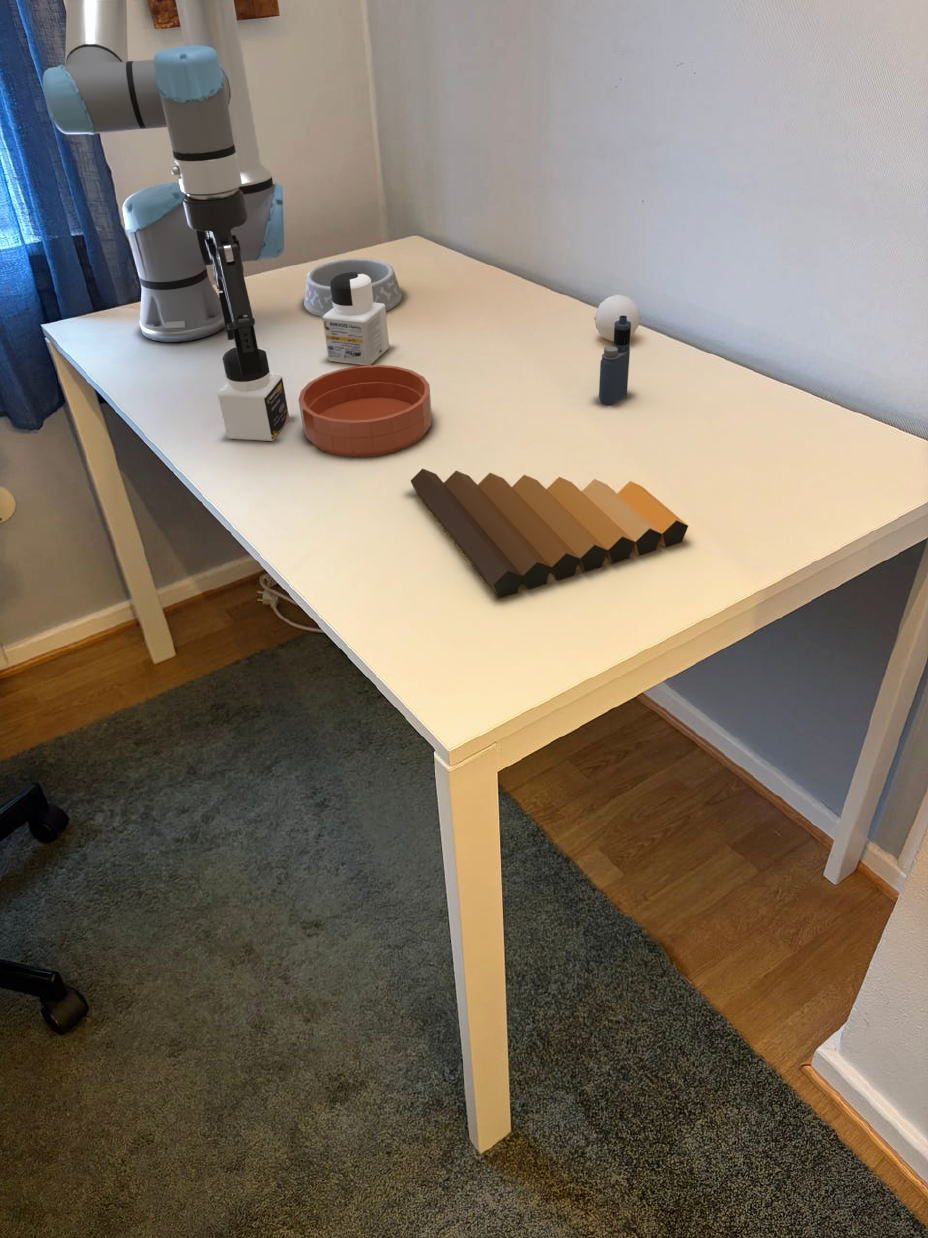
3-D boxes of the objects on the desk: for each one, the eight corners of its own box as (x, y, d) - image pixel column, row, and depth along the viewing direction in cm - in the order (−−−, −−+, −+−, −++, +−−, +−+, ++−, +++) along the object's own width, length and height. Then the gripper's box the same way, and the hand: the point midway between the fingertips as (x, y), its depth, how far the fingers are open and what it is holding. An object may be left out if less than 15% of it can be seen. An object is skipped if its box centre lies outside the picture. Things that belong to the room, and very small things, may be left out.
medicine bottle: (273, 442, 136) (258, 362, 128) (226, 439, 137) (208, 360, 130) (290, 419, 141) (276, 341, 134) (245, 416, 143) (229, 339, 135)
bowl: (294, 412, 143) (288, 378, 139) (411, 390, 147) (408, 356, 144) (319, 469, 129) (313, 432, 126) (448, 442, 133) (446, 406, 130)
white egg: (647, 343, 157) (650, 299, 152) (606, 351, 155) (609, 307, 150) (618, 322, 164) (620, 280, 160) (579, 330, 162) (580, 287, 158)
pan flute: (411, 494, 123) (493, 600, 104) (409, 471, 121) (492, 575, 102) (582, 449, 130) (686, 540, 112) (582, 427, 128) (689, 516, 109)
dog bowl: (399, 315, 172) (396, 286, 168) (298, 320, 172) (293, 290, 169) (405, 282, 185) (402, 254, 182) (311, 286, 186) (307, 258, 182)
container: (327, 361, 157) (316, 282, 149) (349, 343, 163) (339, 266, 155) (369, 366, 155) (360, 286, 147) (390, 348, 160) (382, 270, 152)
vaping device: (630, 394, 142) (636, 316, 135) (609, 407, 139) (613, 327, 132) (616, 390, 144) (621, 312, 136) (595, 402, 141) (598, 323, 133)
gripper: (172, 173, 127) (206, 328, 140) (192, 220, 109) (229, 394, 122) (228, 166, 129) (257, 320, 142) (257, 211, 110) (287, 384, 123)
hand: (244, 354), depth 132 cm, fingers open, 13 cm apart
